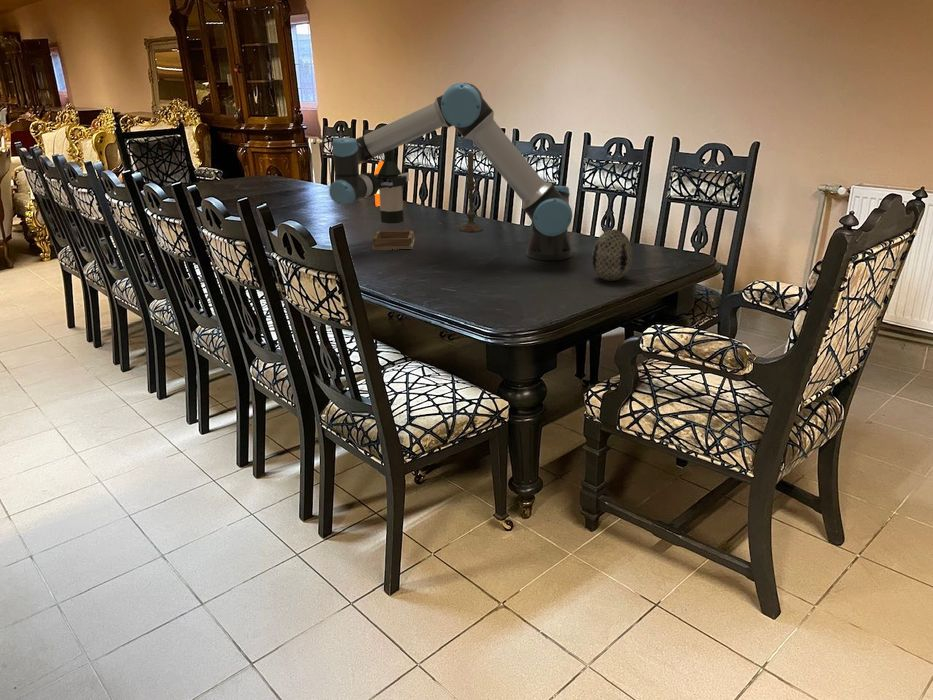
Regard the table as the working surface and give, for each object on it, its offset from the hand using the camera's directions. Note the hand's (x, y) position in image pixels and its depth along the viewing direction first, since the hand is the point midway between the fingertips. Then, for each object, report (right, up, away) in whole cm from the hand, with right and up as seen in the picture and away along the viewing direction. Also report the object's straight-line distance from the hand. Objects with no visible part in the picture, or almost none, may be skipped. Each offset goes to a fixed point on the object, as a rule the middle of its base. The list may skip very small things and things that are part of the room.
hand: (396, 176), depth 244 cm
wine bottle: (-2, -16, +2) cm, 16 cm away
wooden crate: (-1, -24, +5) cm, 24 cm away
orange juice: (-12, +5, +76) cm, 78 cm away
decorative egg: (+67, -41, -39) cm, 88 cm away
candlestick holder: (+27, -15, +27) cm, 40 cm away
